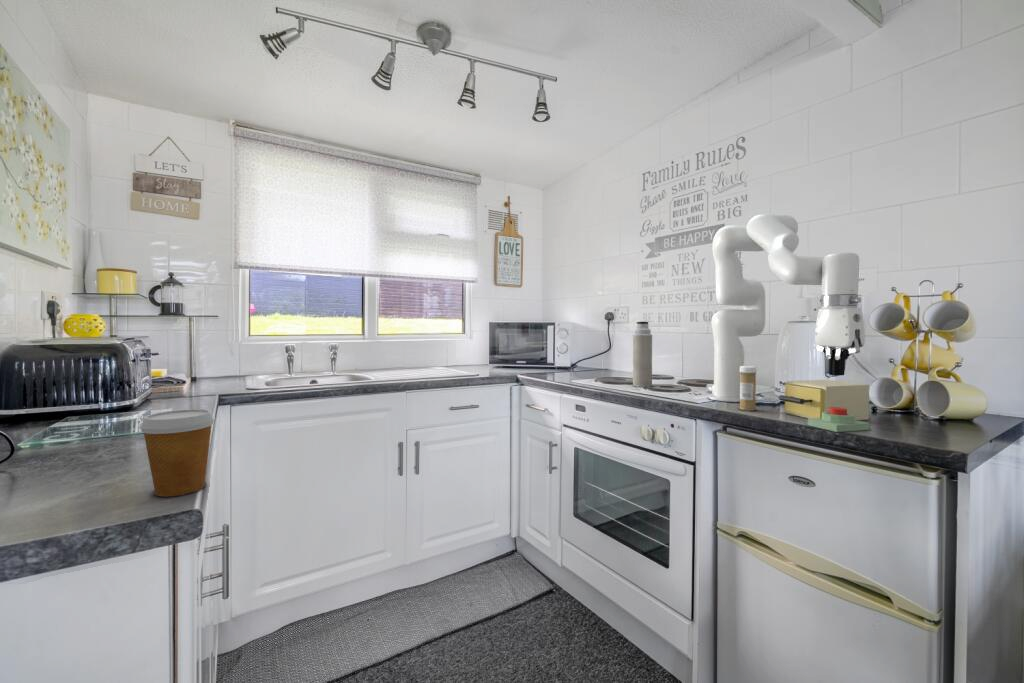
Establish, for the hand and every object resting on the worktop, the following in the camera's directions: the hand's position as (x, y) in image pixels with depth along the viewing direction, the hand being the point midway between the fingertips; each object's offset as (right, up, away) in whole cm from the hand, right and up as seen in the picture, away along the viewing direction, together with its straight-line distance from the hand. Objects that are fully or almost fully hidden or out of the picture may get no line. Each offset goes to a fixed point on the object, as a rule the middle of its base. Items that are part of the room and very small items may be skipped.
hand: (836, 374), depth 113 cm
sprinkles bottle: (-10, -13, +24) cm, 29 cm away
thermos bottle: (-26, -11, +80) cm, 85 cm away
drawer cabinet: (+7, -13, +13) cm, 20 cm away
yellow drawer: (+3, -12, +12) cm, 17 cm away
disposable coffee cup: (-135, -15, -43) cm, 143 cm away
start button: (0, -10, -1) cm, 10 cm away
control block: (0, -13, -1) cm, 13 cm away
